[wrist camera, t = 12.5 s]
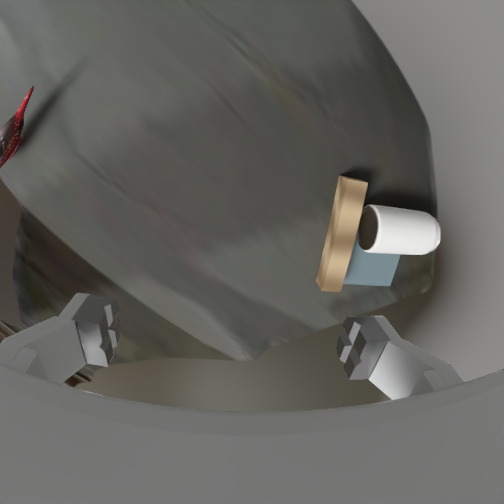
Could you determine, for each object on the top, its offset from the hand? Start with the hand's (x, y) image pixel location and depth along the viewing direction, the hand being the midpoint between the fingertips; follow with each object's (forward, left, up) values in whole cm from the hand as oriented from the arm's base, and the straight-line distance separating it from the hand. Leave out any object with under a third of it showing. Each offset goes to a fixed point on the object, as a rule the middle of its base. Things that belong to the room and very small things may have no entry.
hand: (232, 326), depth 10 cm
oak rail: (+5, +16, -29) cm, 34 cm away
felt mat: (+7, +23, -29) cm, 38 cm away
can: (+3, +18, -25) cm, 31 cm away
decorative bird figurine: (-6, -32, -29) cm, 44 cm away
